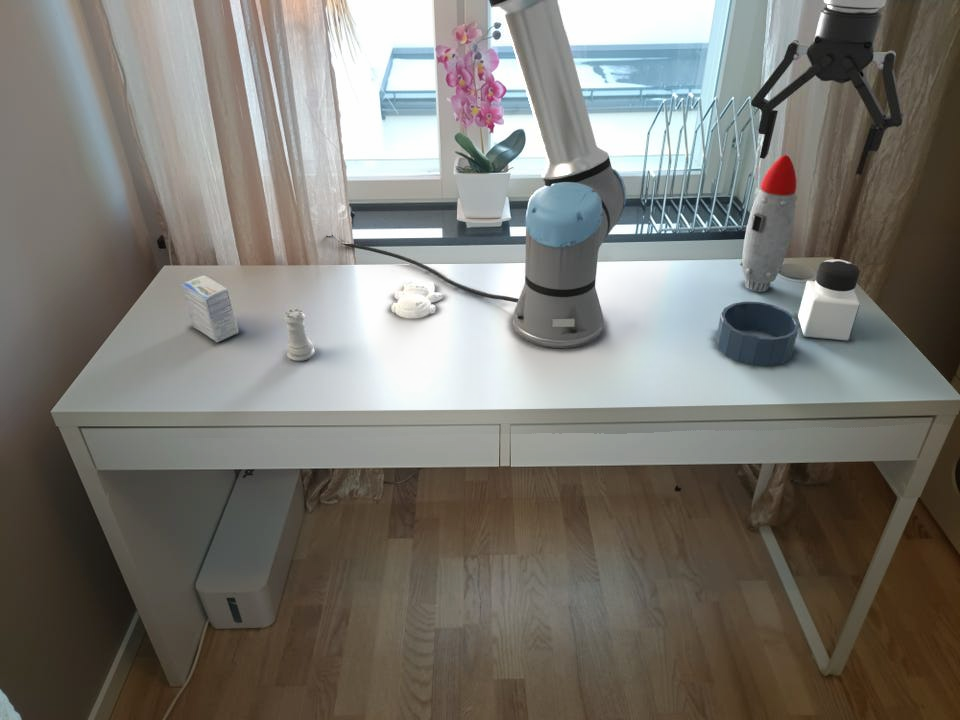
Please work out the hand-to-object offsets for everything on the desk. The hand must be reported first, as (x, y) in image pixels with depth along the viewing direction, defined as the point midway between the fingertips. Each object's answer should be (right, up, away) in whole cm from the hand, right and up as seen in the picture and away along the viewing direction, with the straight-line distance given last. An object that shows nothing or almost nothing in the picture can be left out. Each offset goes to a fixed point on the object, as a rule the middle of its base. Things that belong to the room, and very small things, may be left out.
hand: (810, 163), depth 111 cm
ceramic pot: (-5, -27, +11) cm, 29 cm away
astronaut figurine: (-61, -19, +25) cm, 68 cm away
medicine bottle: (+9, -24, +15) cm, 30 cm away
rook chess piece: (-78, -29, +10) cm, 84 cm away
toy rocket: (+2, -16, +28) cm, 32 cm away
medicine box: (-95, -24, +16) cm, 99 cm away
